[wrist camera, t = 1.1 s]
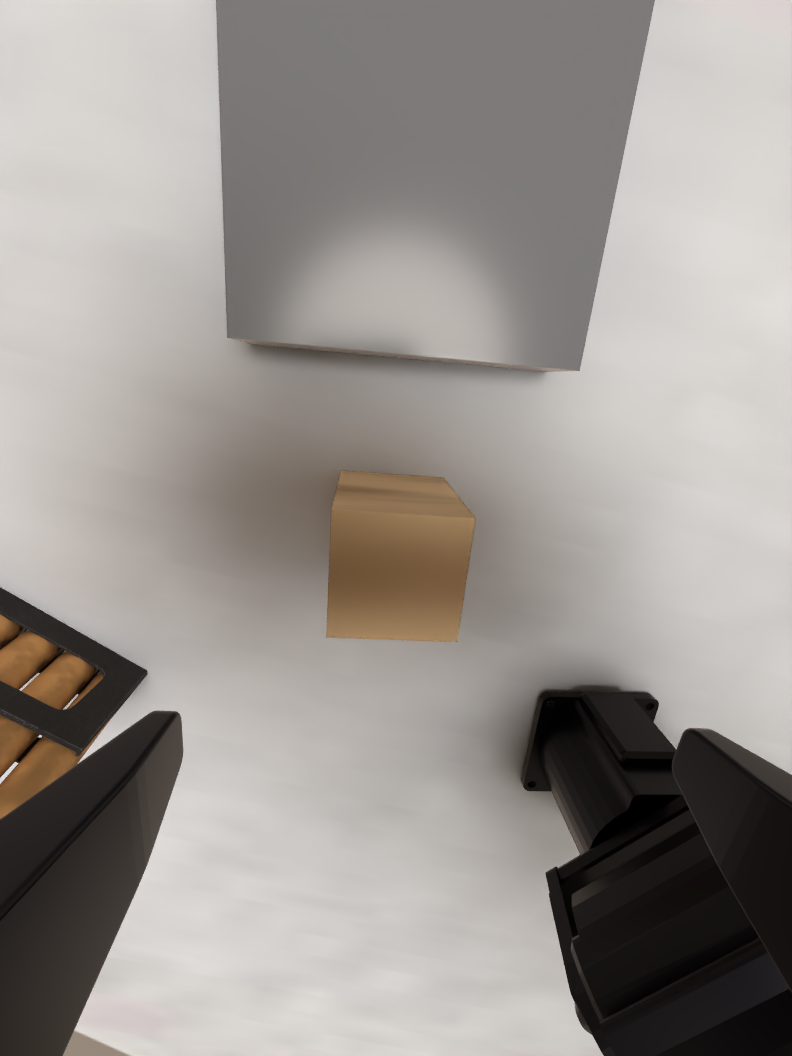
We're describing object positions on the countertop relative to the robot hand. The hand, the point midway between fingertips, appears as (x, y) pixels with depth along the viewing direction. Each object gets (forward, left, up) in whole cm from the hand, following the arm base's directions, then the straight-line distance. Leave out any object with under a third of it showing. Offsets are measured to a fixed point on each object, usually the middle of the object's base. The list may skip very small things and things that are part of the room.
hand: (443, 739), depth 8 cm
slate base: (+13, 0, -13) cm, 18 cm away
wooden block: (0, 0, -13) cm, 13 cm away
